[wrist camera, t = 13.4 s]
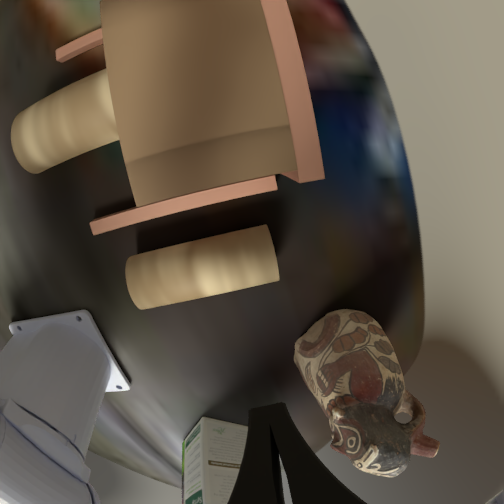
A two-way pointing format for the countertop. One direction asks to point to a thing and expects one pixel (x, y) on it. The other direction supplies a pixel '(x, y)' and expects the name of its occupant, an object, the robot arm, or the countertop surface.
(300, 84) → the end wall and guide rails
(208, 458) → the syrup box
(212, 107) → the block
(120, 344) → the countertop surface
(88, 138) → the dowel
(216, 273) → the short dowel
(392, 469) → the figurine
